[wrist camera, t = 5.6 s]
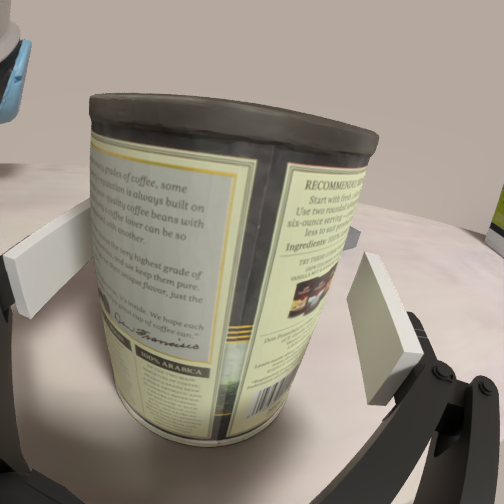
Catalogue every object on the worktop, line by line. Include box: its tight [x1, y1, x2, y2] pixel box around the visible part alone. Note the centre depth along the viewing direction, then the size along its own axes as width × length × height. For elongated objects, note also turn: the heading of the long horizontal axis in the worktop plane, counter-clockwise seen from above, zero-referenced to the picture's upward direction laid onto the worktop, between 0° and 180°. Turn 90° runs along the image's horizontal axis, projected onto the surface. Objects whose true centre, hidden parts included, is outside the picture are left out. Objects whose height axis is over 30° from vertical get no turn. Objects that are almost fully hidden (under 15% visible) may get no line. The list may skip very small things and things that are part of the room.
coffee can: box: [89, 93, 379, 447], centre depth 13 cm, size 10×10×14 cm
